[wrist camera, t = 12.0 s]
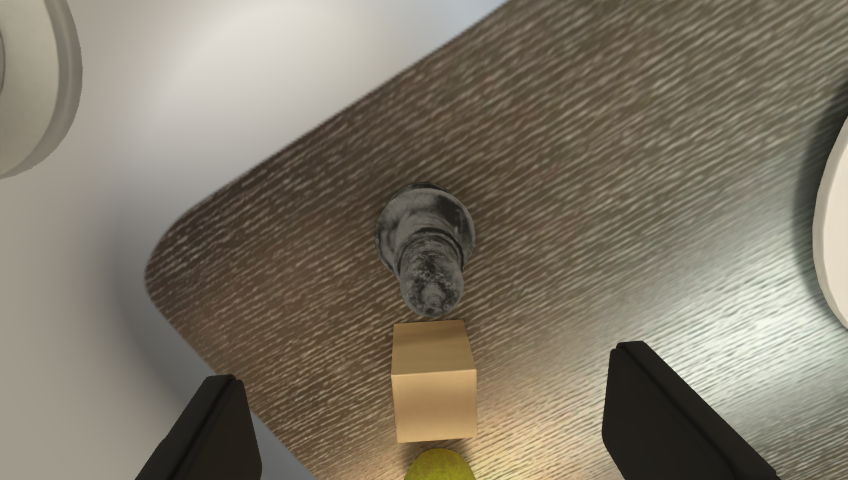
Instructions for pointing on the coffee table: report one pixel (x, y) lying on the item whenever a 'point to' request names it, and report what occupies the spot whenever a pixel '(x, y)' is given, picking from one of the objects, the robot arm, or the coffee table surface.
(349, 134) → the coffee table surface
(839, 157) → the plate
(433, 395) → the maple block
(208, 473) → the robot arm
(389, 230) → the grey chess bishop
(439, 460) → the fruit
